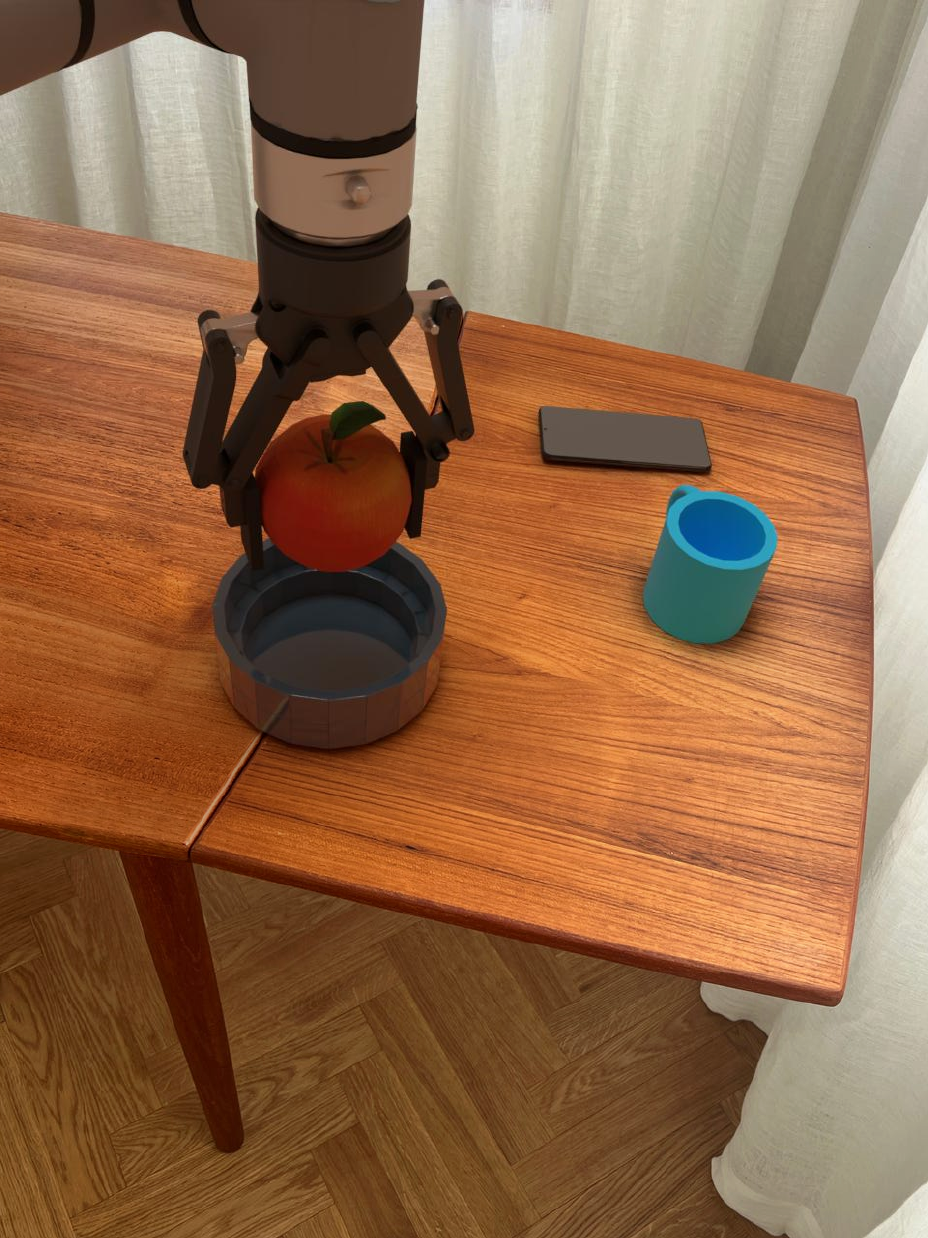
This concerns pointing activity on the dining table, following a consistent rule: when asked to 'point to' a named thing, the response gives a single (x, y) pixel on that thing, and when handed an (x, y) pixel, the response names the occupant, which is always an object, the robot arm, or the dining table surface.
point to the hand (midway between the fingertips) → (332, 538)
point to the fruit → (334, 490)
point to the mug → (708, 565)
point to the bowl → (329, 646)
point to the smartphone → (623, 439)
